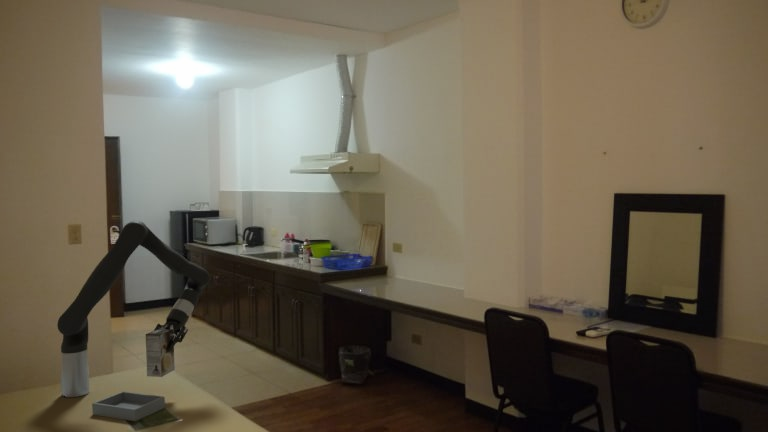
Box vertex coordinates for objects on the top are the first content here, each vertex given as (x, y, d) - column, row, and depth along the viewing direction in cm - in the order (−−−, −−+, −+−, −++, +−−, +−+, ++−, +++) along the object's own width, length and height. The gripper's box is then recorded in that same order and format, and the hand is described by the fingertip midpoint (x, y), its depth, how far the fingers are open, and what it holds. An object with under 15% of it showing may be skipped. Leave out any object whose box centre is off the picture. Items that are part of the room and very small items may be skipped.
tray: (92, 414, 216) (92, 403, 216) (123, 401, 229) (123, 391, 229) (135, 421, 208) (134, 409, 208) (164, 407, 221) (164, 396, 221)
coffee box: (160, 369, 235) (159, 328, 235) (175, 370, 234) (174, 328, 233) (146, 376, 226) (145, 333, 226) (161, 377, 225) (160, 334, 224)
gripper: (161, 306, 240) (139, 342, 230) (190, 308, 235) (169, 346, 224) (171, 317, 245) (150, 353, 235) (199, 319, 240) (179, 356, 229)
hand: (159, 349), depth 230 cm, fingers closed on coffee box, 7 cm apart
